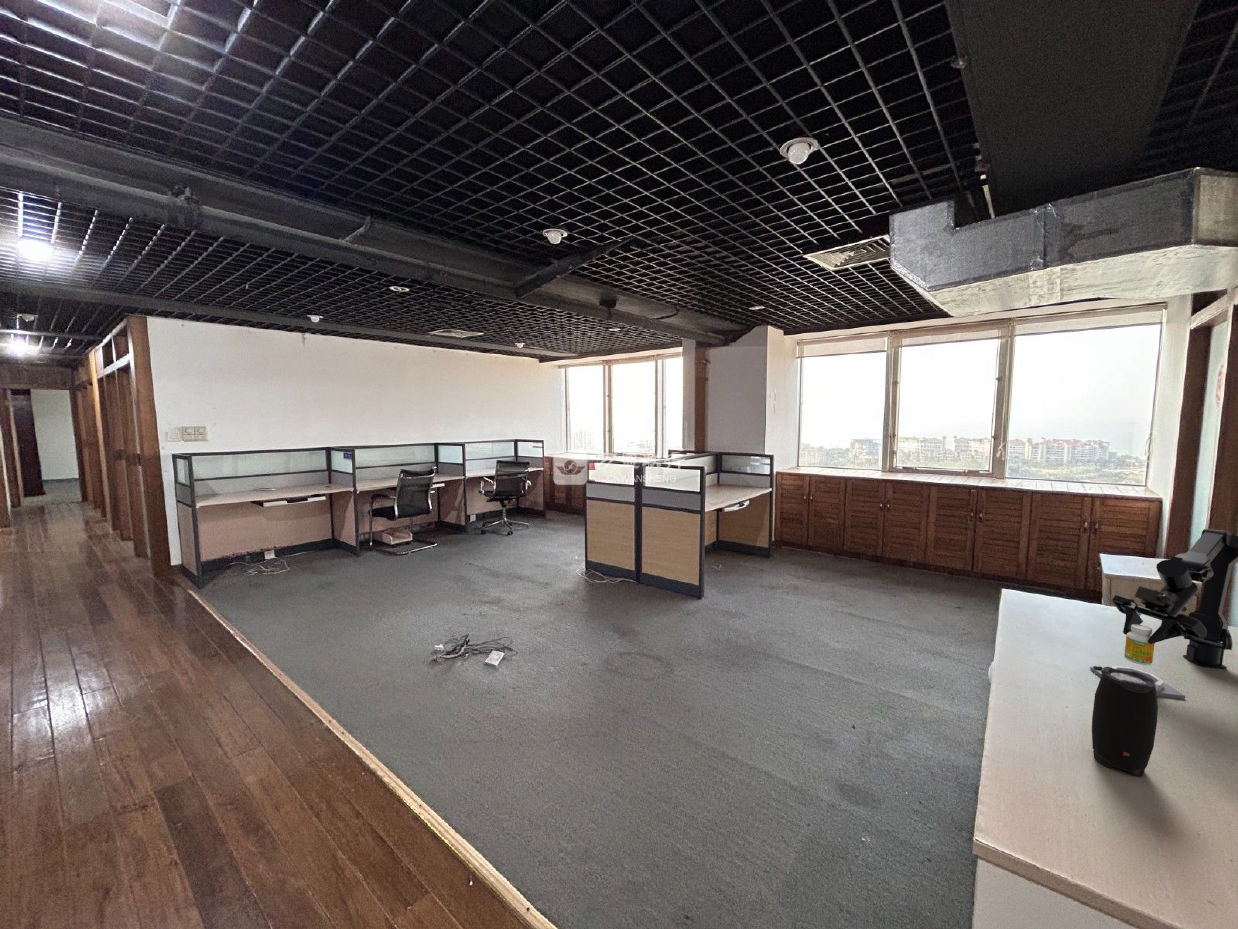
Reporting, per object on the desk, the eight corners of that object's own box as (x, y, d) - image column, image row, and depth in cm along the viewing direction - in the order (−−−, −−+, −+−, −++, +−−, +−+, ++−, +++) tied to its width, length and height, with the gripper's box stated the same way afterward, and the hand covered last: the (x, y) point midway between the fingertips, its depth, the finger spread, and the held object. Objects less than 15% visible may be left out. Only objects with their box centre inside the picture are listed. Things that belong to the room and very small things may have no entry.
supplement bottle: (1128, 663, 136) (1132, 628, 135) (1120, 654, 141) (1124, 621, 140) (1156, 667, 134) (1160, 632, 133) (1146, 659, 139) (1150, 625, 138)
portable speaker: (1143, 785, 99) (1154, 691, 97) (1081, 758, 107) (1091, 670, 105) (1155, 769, 104) (1166, 679, 102) (1095, 744, 112) (1104, 660, 110)
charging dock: (1149, 676, 142) (1150, 668, 142) (1184, 699, 130) (1186, 690, 130) (1090, 669, 146) (1091, 661, 145) (1119, 691, 134) (1120, 682, 134)
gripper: (1119, 567, 145) (1084, 606, 144) (1204, 589, 127) (1164, 634, 126) (1138, 592, 147) (1103, 630, 146) (1224, 617, 129) (1185, 661, 128)
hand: (1136, 638), depth 137 cm, fingers closed on supplement bottle, 5 cm apart
